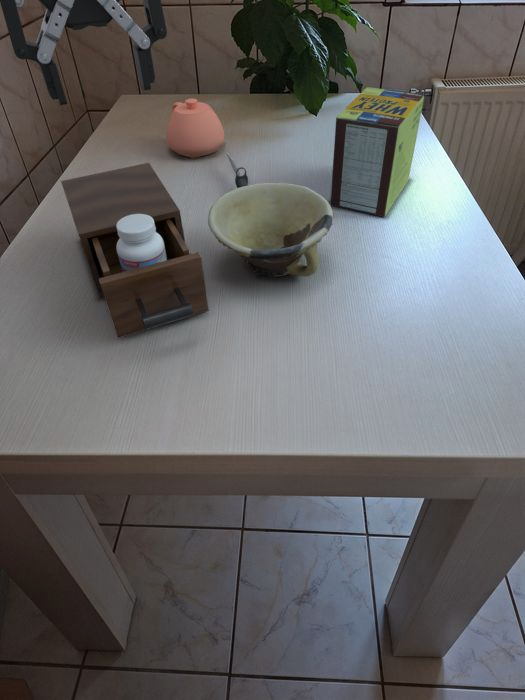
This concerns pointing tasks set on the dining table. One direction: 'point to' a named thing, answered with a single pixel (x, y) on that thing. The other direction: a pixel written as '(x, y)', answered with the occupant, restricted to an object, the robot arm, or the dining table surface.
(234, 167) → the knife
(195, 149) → the sugar bowl
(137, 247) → the pill bottle
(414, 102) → the protein box
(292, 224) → the bowl
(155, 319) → the drawer
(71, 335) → the dining table surface
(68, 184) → the cabinet
